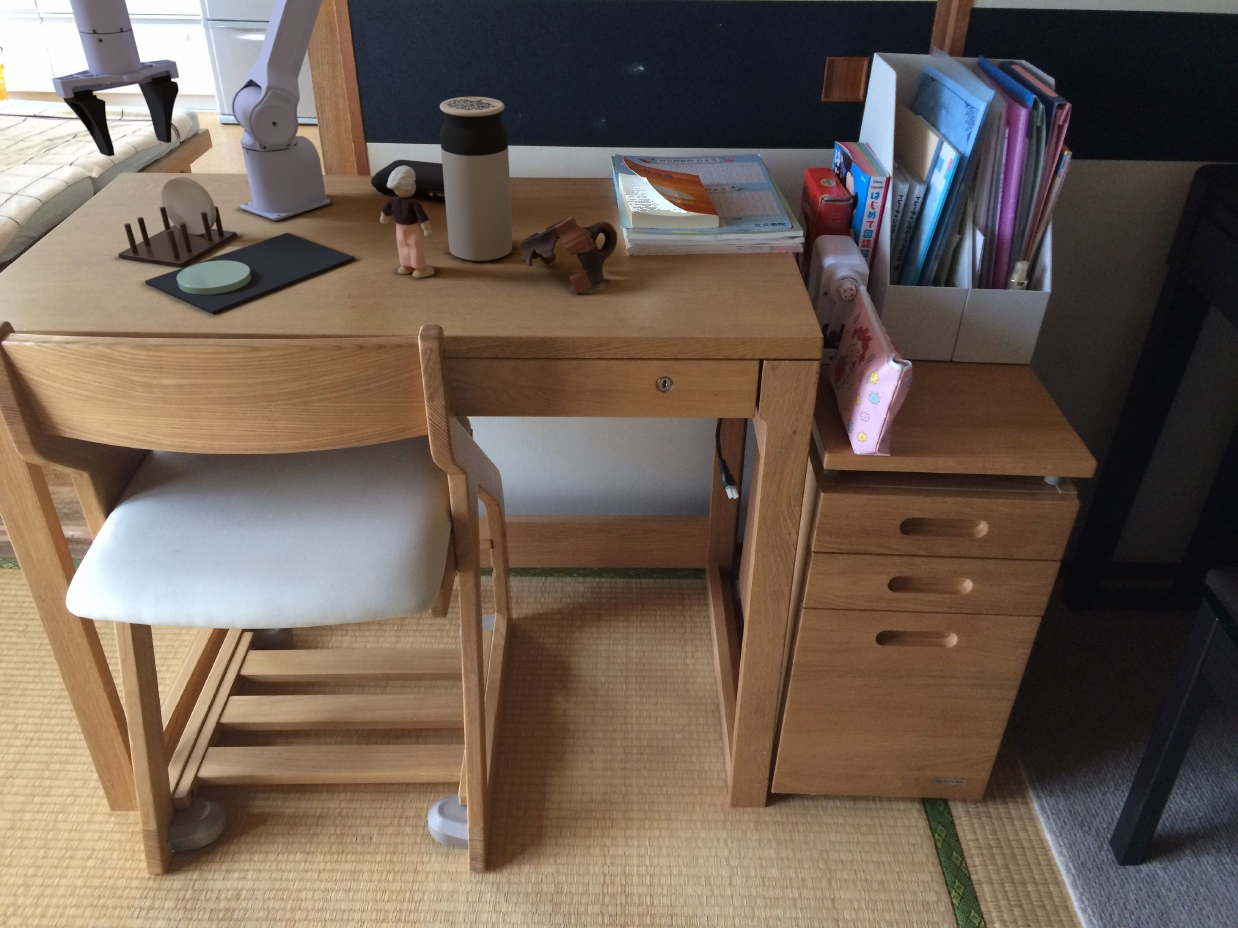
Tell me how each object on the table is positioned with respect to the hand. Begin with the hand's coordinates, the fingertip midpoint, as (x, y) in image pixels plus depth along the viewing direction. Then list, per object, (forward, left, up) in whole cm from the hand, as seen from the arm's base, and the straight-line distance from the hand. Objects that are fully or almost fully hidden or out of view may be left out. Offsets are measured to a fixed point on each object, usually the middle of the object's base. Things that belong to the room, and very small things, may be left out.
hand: (136, 148), depth 116 cm
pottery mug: (-22, +52, -11) cm, 57 cm away
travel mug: (-21, +38, -11) cm, 45 cm away
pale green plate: (+6, +21, -10) cm, 24 cm away
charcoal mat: (+1, +22, -10) cm, 24 cm away
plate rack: (+2, +8, -10) cm, 13 cm away
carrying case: (-33, +16, -11) cm, 38 cm away
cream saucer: (-1, +7, -6) cm, 9 cm away
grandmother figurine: (-11, +36, -11) cm, 39 cm away
